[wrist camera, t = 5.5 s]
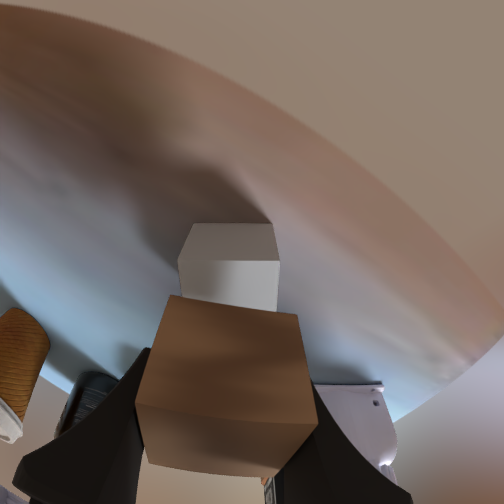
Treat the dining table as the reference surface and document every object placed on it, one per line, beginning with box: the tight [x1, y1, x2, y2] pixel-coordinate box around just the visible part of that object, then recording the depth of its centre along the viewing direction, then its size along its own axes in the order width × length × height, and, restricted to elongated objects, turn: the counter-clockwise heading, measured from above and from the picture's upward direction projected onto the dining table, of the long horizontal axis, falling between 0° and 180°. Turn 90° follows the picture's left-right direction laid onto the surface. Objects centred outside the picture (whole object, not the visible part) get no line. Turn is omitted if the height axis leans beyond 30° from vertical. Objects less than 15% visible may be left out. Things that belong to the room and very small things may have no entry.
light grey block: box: [177, 223, 280, 312], centre depth 18 cm, size 5×5×5 cm
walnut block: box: [135, 295, 318, 478], centre depth 10 cm, size 5×5×5 cm
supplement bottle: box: [54, 372, 118, 439], centre depth 22 cm, size 7×7×12 cm
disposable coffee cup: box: [0, 308, 50, 444], centre depth 18 cm, size 10×10×12 cm
